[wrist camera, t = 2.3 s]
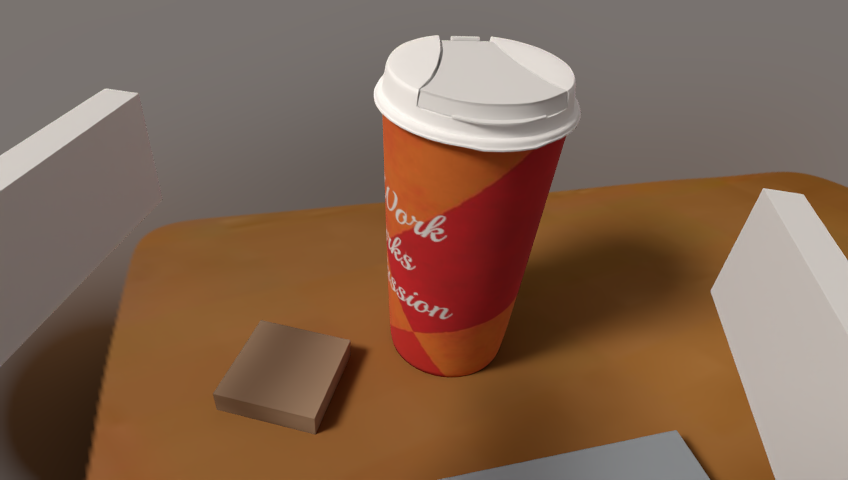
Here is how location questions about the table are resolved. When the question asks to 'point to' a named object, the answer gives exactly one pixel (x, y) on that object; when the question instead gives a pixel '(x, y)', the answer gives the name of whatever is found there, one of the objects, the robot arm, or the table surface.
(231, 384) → the block
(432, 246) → the paper cup
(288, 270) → the table surface
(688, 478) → the slate board
